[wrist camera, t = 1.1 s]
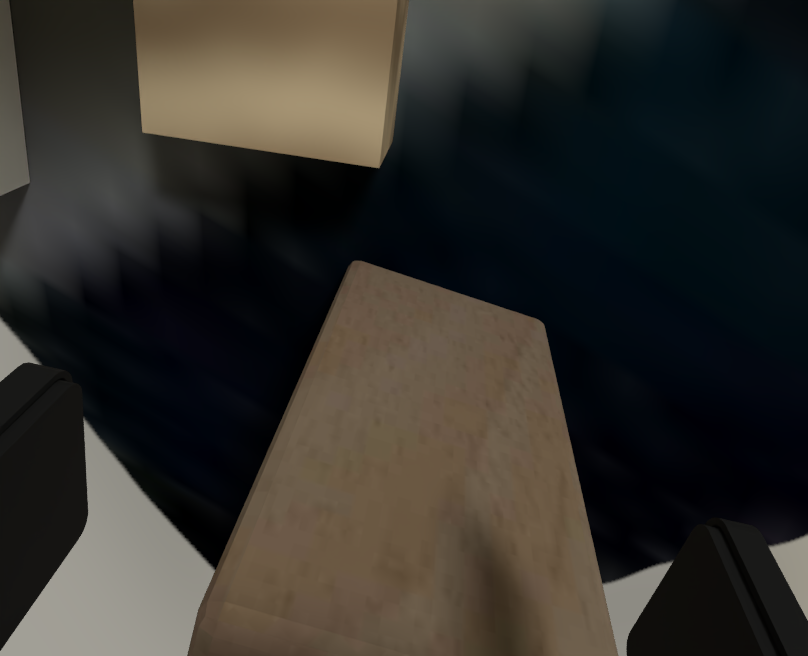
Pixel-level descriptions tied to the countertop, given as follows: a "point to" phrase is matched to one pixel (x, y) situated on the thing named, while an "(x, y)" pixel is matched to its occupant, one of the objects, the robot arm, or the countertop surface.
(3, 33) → the cream board
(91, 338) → the countertop surface
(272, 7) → the oak block
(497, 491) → the wooden block
